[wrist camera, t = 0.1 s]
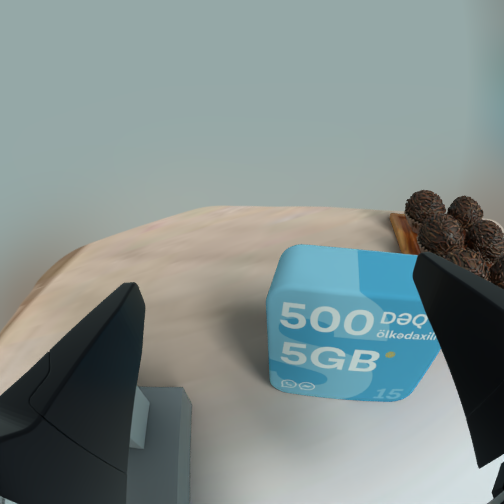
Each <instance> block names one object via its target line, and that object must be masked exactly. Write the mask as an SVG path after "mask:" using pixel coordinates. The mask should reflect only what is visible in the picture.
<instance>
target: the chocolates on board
mask: <svg viewBox="0 0 504 504" xmlns="http://www.w3.org/2000/svg"><path fill="white" fill-rule="evenodd" d="M410 198H411V199H407V201H408V203H406V204H405V205H406V207H405V213H404V214H397V213H391V214H390V221H391V223H392V226H393V229H394V232H395V235H396V237H397V240H398V243H399V246H400V249H401V253H402V254H410V255H418V254H419V253H422V252H431V253H433V254H435V255H438V256H440V257H442V258H444V259H446V260H448V261H450V262H452V263H454V264H456V265H458V266H460V267H462V268H464V269H466V270H468V271H470V272H472V273H474V274H476V275H478V276H479V277H481V278H483V279H485V280H487V281H489V282H491V283H493V284H494V285H496V286H498V287H500V288H502V289H504V238H503V235H504V233H502V230H501V228H499V226H498V225H497V226H496V224H495V223H494V222H492V221H488V220H482V216H483V210H481V208H480V206H479V205H478V203H477V202H476V201H474V200H473V199H471V197H466V196H461V197H458V198H456V199H455V200H454V201H453V203H452V204H451V205H450V207H449V208H448V212H447V214H444V213H445V212H446V209H445V205H444V204H443V203H442V200H441V199H440V197H439V195H438V196H437V194H434V192H432V191H428V190H421V191H419V192H415V193H414V194H413V195H412V196H411V197H410Z"/></svg>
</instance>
